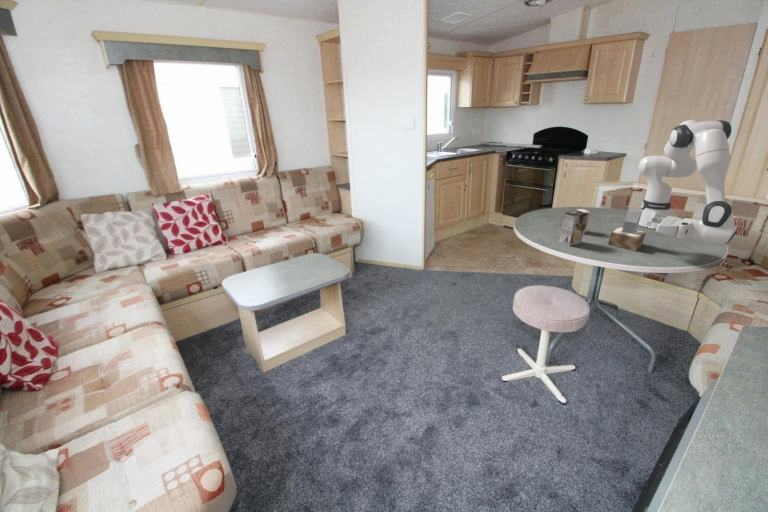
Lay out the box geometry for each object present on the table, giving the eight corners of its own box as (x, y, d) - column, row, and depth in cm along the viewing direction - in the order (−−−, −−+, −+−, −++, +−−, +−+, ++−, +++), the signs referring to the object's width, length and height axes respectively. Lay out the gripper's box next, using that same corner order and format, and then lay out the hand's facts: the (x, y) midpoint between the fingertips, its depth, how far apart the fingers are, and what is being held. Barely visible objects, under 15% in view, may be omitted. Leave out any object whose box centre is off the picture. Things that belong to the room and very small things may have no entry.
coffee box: (570, 239, 188) (576, 209, 182) (581, 243, 183) (588, 213, 177) (558, 242, 185) (564, 212, 178) (569, 246, 179) (576, 215, 173)
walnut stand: (642, 244, 181) (646, 231, 179) (635, 251, 174) (639, 237, 171) (615, 238, 189) (619, 226, 187) (608, 244, 182) (611, 231, 179)
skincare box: (571, 229, 202) (575, 208, 197) (578, 229, 202) (583, 208, 197) (577, 233, 196) (582, 212, 191) (585, 233, 196) (590, 212, 191)
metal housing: (636, 231, 179) (642, 210, 174) (633, 234, 176) (639, 212, 171) (624, 229, 182) (630, 208, 178) (621, 231, 179) (627, 210, 174)
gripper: (692, 216, 167) (657, 210, 176) (683, 226, 154) (646, 219, 164) (687, 229, 170) (653, 222, 179) (678, 240, 157) (642, 232, 166)
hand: (649, 221), depth 171 cm, fingers open, 8 cm apart
